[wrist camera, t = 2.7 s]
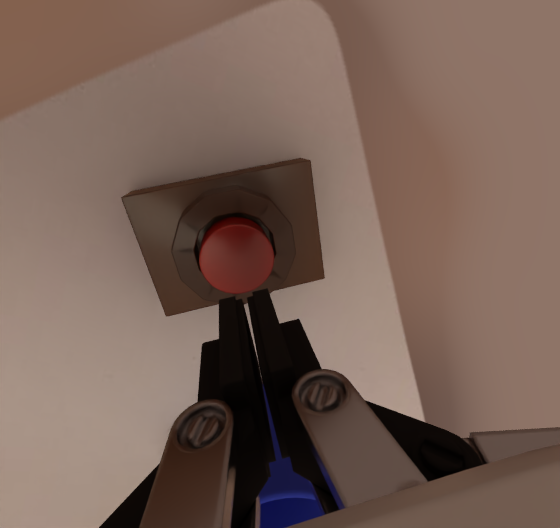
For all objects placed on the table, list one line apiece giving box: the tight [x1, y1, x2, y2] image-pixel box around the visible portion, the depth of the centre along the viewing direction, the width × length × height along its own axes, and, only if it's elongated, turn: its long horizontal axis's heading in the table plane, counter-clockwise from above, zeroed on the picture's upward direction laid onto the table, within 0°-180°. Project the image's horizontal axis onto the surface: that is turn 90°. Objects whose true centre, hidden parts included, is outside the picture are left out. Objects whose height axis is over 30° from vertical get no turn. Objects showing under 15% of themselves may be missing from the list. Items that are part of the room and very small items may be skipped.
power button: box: [199, 217, 274, 294], centre depth 17 cm, size 4×4×2 cm
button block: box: [121, 158, 325, 316], centre depth 19 cm, size 11×8×4 cm
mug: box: [259, 384, 322, 528], centre depth 23 cm, size 8×12×10 cm
